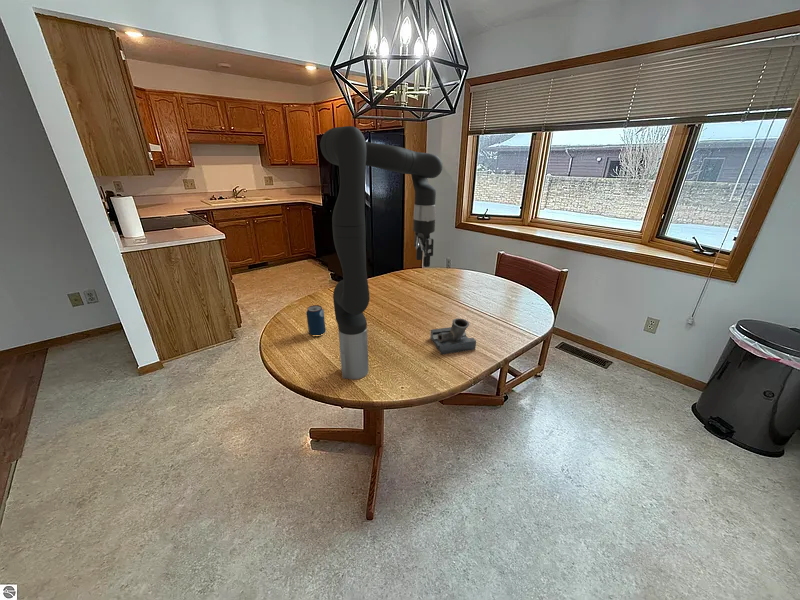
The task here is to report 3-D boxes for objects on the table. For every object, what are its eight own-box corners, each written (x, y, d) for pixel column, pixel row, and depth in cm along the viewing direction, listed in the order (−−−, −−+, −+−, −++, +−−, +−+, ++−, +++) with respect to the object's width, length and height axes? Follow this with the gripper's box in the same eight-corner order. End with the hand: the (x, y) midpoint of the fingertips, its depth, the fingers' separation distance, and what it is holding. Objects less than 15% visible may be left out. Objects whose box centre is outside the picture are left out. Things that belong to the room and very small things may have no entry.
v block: (441, 354, 122) (442, 345, 121) (430, 338, 133) (430, 329, 132) (475, 349, 126) (476, 340, 124) (461, 334, 137) (462, 325, 135)
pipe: (433, 338, 126) (438, 321, 123) (457, 333, 133) (462, 316, 130) (443, 348, 122) (449, 330, 118) (467, 341, 129) (473, 325, 126)
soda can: (329, 332, 137) (326, 306, 132) (317, 339, 132) (314, 313, 127) (317, 328, 141) (314, 303, 136) (305, 334, 135) (302, 309, 130)
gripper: (408, 215, 117) (407, 258, 123) (420, 222, 104) (418, 269, 111) (428, 214, 118) (426, 257, 125) (442, 221, 106) (439, 268, 112)
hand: (422, 263), depth 118 cm, fingers open, 8 cm apart
